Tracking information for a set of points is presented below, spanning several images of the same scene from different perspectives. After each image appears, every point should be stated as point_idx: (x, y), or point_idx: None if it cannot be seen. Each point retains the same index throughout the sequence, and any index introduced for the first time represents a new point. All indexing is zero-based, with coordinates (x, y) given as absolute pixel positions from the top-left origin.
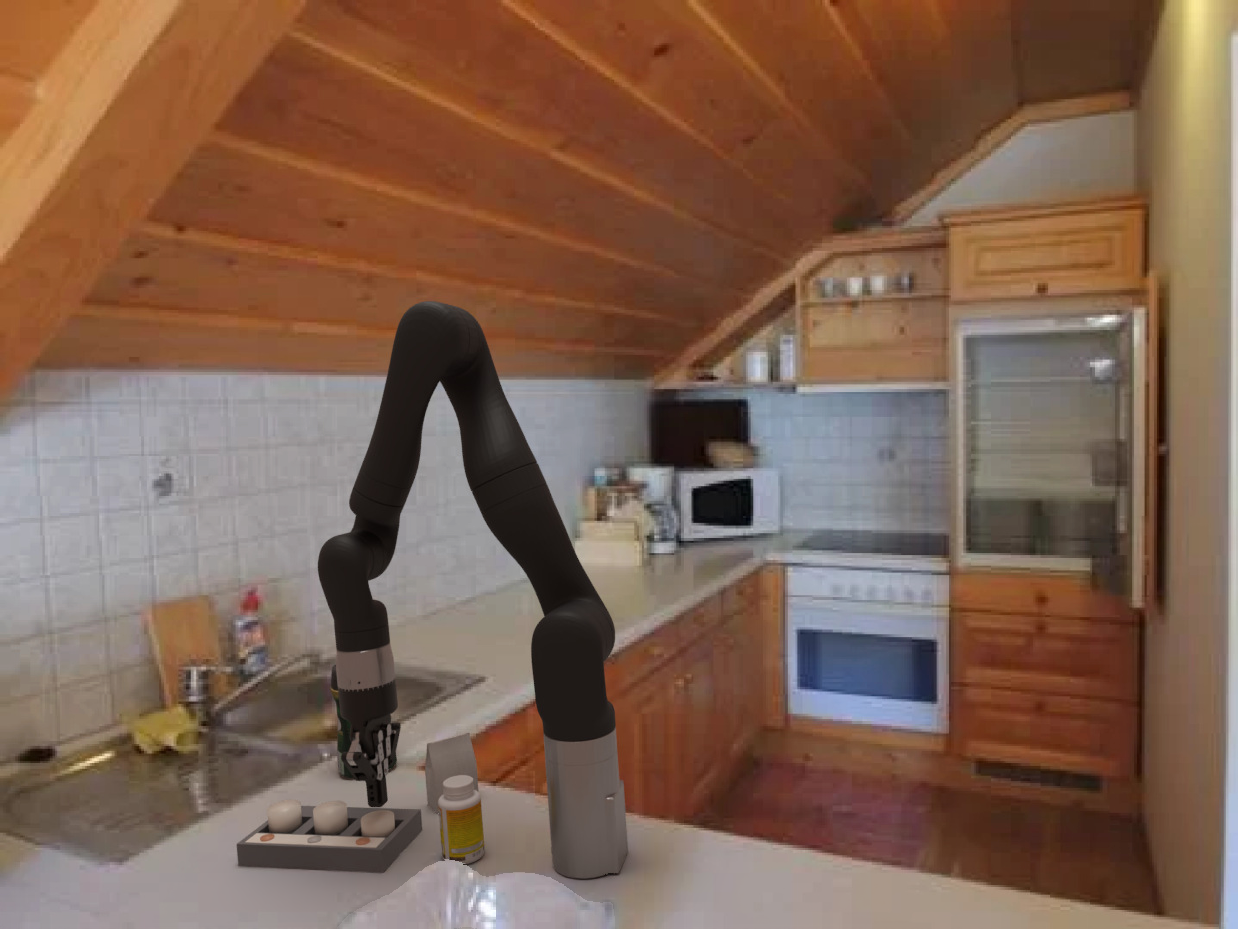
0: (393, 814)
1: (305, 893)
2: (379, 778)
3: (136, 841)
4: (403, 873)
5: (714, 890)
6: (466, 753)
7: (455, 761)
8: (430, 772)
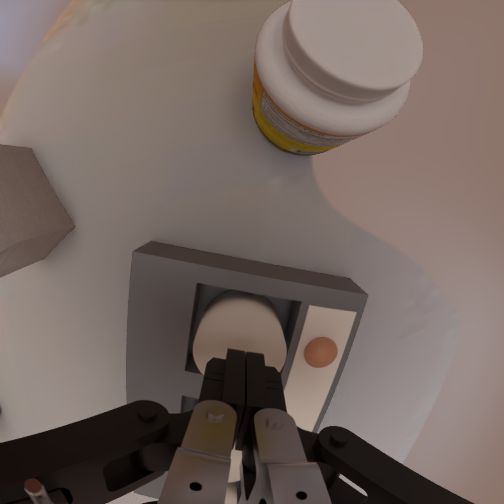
0: (226, 314)
1: (386, 387)
2: (287, 417)
3: None
4: (358, 234)
5: None
6: None
7: None
8: (4, 260)
